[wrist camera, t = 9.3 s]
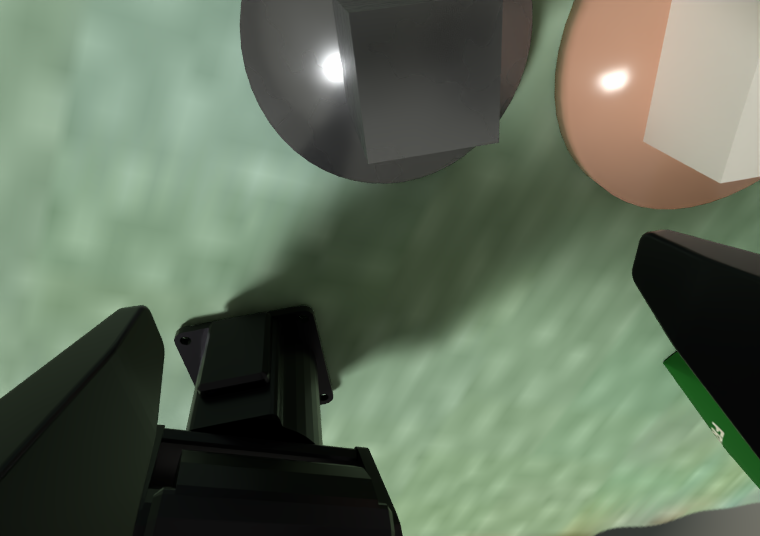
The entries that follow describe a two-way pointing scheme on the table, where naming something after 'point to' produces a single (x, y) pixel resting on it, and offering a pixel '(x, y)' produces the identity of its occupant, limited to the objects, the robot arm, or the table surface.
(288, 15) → the grey rounded piece
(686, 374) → the milk carton
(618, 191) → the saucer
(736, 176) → the cream colored cube
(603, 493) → the table surface
